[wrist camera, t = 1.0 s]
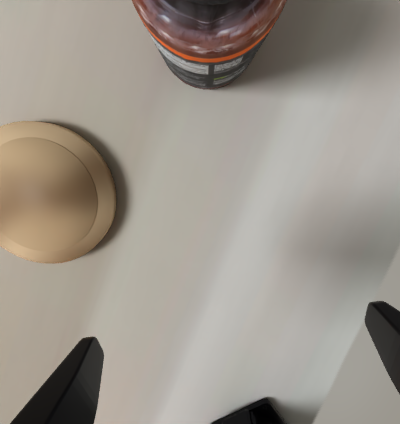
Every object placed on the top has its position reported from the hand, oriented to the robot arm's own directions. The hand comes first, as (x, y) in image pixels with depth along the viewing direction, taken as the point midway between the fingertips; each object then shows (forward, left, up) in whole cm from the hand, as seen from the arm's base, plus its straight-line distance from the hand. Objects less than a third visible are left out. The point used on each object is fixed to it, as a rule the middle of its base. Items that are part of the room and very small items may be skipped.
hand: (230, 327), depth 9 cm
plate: (+8, +9, -12) cm, 17 cm away
